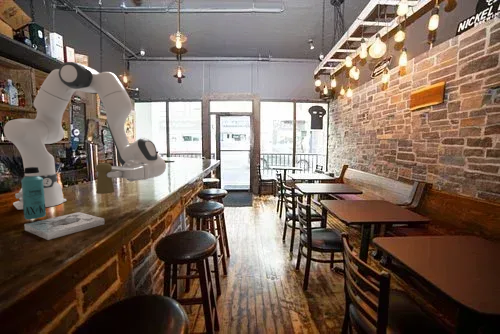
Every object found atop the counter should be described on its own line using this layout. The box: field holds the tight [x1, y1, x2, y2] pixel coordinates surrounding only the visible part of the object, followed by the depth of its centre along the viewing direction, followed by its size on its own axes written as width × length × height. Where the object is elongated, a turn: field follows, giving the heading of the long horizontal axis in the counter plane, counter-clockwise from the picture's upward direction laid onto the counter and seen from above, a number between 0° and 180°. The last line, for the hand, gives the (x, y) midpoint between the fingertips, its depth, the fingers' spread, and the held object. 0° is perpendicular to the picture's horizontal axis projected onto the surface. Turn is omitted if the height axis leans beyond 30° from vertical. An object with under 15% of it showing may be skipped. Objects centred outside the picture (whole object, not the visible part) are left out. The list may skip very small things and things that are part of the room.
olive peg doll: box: [95, 162, 115, 195], centre depth 99 cm, size 6×6×11 cm
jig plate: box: [24, 211, 105, 241], centre depth 90 cm, size 17×17×2 cm
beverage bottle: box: [20, 167, 47, 220], centre depth 96 cm, size 6×7×20 cm
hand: (102, 174), depth 98 cm, fingers closed on olive peg doll, 4 cm apart
